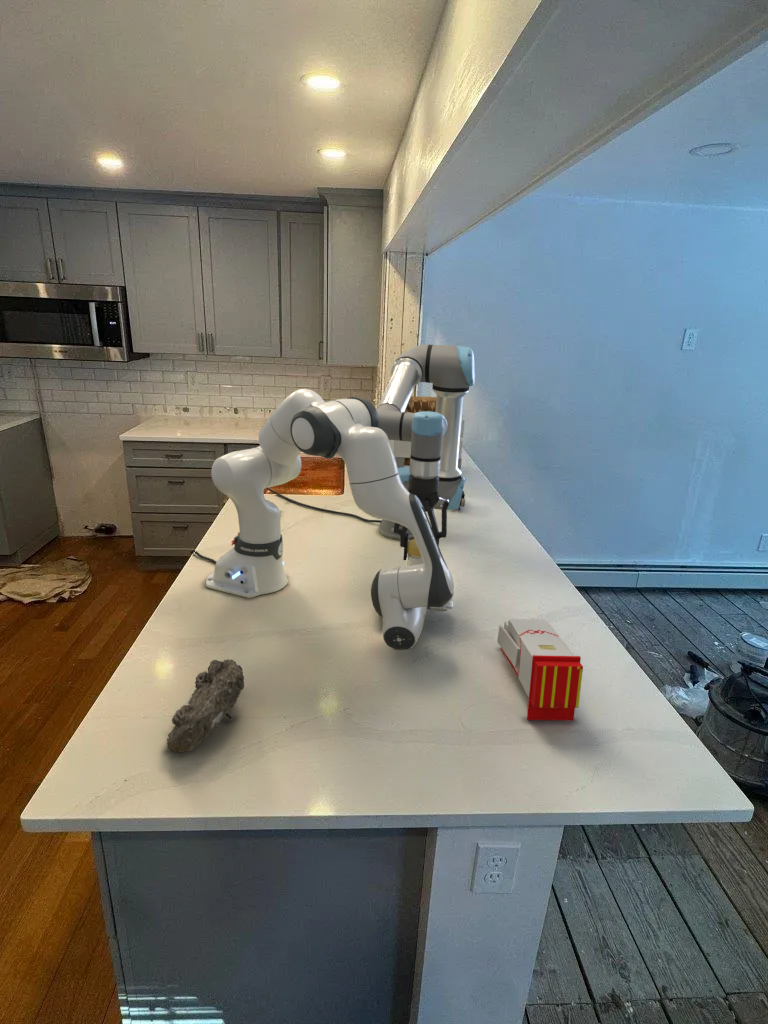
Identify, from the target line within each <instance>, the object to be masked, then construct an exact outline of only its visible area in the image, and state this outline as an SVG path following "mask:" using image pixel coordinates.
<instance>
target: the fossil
mask: <svg viewBox="0 0 768 1024" xmlns="http://www.w3.org/2000/svg"><path fill="white" fill-rule="evenodd" d="M243 670H244V669H243V667H242V665H240V664H237V662H236V661H235V660H234V659H232V658H231V659H227V658H226V659H224V660H223V661H222V660H217V659H212V660H211V661H210V663H209V665H208V666H207V671H201V672H199V673H198V674H197V675H196V676H195V680H194V684H195V685H194V687H195V689H194V690H193V693H192V694H191V697H190V698H189V700H188V704H184V705H182V706H181V707H180V709H177V710H176V711H175V713H174V715H173V716H172V718H171V723H172V724H173V727H172V730H171V731H170V732H168V734H167V738H166V741H167V742H166V745H167V749H168V750H169V751H173V752H174V753H176V754H178V753H182V752H188V751H189V752H192V751H193V750H195V748H196V747H197V746H199V744H200V743H201V742H203V741H204V740H205V739H206V738H207V737H208V736H209V735H210V734H211V733H212V732H214V730H215V729H217V727H218V726H219V724H220V722H221V721H222V720H223V719H224V718H225V716H226V717H227V719H229V720H233V717H232V715H230V714H229V710H230V709H231V708H234V706H235V704H236V703H237V702H238V699H239V697H240V695H241V693H242V691H243V690H245V689H244V688H245V675H244V671H243Z"/></svg>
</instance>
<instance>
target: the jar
mask: <svg viewBox="0 0 768 1024" xmlns="http://www.w3.org/2000/svg"><path fill="white" fill-rule="evenodd" d="M423 563H424V562H423V559H422V557H418V556H413V555H410V554H409V553H407V565H406V566H412V565H420V564H423Z"/></svg>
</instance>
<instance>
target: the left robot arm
mask: <svg viewBox="0 0 768 1024" xmlns="http://www.w3.org/2000/svg"><path fill="white" fill-rule="evenodd" d="M376 409H377V408H376V406H375V405H374V404H373V403H372V402H371V401H370V400H368V399H366V398H363V397H356V396H349V397H344V398H338V399H331V400H328V401H325V400H324V399H323V398H322V397H321V395H320V394H318V393H317V392H316V391H314V390H312V389H309V388H299V389H296V390H295V391H293V392H291V394H289V395H288V396H287V397H285V399H283V400H282V401H281V403H279V405H277V407H276V408H275V409H274V411H273V412H272V413H271V415H270V416H269V417H268V418H267V420H266V421H265V423H264V424H263V425H262V427H261V428H260V429H259V432H258V444H259V446H256V447H252V448H247V449H241V450H236V451H231V452H228V453H226V454H224V455H221V456H219V457H217V458H216V459H215V460H214V461H213V464H212V466H211V470H210V471H211V472H210V476H211V480H212V483H213V485H214V486H215V488H216V489H217V490H218V492H220V493H221V494H223V495H225V496H227V497H228V498H229V499H230V501H231V502H232V503H233V504H234V507H235V510H236V512H237V519H238V528H239V529H238V530H239V531H238V533H237V535H236V536H234V537H233V539H232V540H231V541H230V543H231V546H233V545H234V546H233V547H232V548H231V549H229V550H228V551H226V552H225V553H224V554H222V555H221V556H220V557H219V558H218V559H217V561H216V560H215V559H213V558H210V557H207V556H204V555H201V553H199V552H198V551H197V550H195V549H193V550H191V551H190V553H189V554H195V555H196V556H198V557H199V558H200V559H203V560H206V561H209V562H210V563H212V564H214V569H213V571H212V572H211V573H210V574H209V575H208V576H207V578H206V579H205V587H206V588H209V589H211V590H216V591H219V592H224V593H228V594H232V595H235V596H240V597H244V598H248V599H251V598H255V597H258V596H261V595H267V594H271V593H276V592H277V591H280V590H282V589H284V588H285V587H286V586H287V584H288V577H287V574H286V571H285V567H284V566H285V562H284V560H283V555H284V541H283V535H282V530H281V529H282V528H281V510H280V508H279V507H278V506H277V505H276V503H274V502H273V501H271V500H267V499H266V498H265V494H264V492H265V490H266V489H265V488H269V489H270V488H272V487H278V486H281V485H284V484H287V483H288V482H290V481H293V480H294V479H296V478H298V477H299V475H300V473H301V471H302V465H303V464H302V457H301V455H300V454H301V453H303V454H305V455H308V456H314V457H320V458H325V459H328V460H331V459H333V458H334V457H335V456H336V455H337V456H338V457H340V458H341V459H342V461H343V462H344V464H345V468H346V472H347V477H348V483H349V488H350V492H351V496H352V498H353V501H354V504H355V505H356V507H357V508H358V509H359V510H360V511H362V513H364V514H366V515H368V516H370V517H372V518H375V519H377V520H387V521H392V522H395V523H398V524H401V525H403V526H405V527H406V528H408V529H409V530H410V531H411V532H412V534H413V536H414V538H415V539H414V540H415V541H416V544H417V546H418V549H419V551H420V554H421V557H422V559H423V562H424V563H423V564H420V565H412V566H407V565H404V566H395V567H394V566H393V567H385V568H380V569H379V570H378V571H377V572H376V574H375V575H374V577H373V579H372V582H371V586H370V587H371V588H370V598H371V603H372V606H373V608H374V611H375V613H377V615H378V616H379V618H381V620H382V639H383V642H384V643H385V645H387V646H388V647H389V648H391V649H392V650H395V651H406V650H407V651H408V650H410V649H412V648H413V647H414V646H415V645H416V644H417V643H418V641H419V639H420V637H421V634H422V631H423V628H424V623H425V619H426V616H427V611H433V612H447V611H448V610H452V609H453V606H454V603H453V599H454V594H455V584H454V583H455V582H454V578H453V575H452V573H451V571H450V569H449V567H448V565H447V562H446V561H445V558H444V556H443V554H442V550H441V549H440V545H439V546H438V543H437V540H436V538H435V535H434V532H433V530H432V527H431V523H430V519H429V516H428V514H427V512H425V510H424V507H423V505H422V503H421V501H420V500H419V498H418V497H417V496H416V495H413V494H410V493H409V492H408V491H407V489H406V488H405V487H404V485H403V484H402V482H401V479H400V476H399V473H398V467H397V463H396V459H395V456H394V453H393V450H392V447H391V444H390V442H389V439H388V437H387V435H386V433H385V432H384V431H383V430H381V429H379V428H378V423H379V419H378V413H377V411H376ZM195 551H196V552H195ZM194 552H195V553H194Z"/></svg>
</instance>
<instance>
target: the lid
mask: <svg viewBox="0 0 768 1024" xmlns="http://www.w3.org/2000/svg"><path fill="white" fill-rule="evenodd" d="M407 552H408V553H409V554H410V555H413V556H418V557H421V554H420V551H419V549H418V546H417V544H416V541H415V539H411V540H408V544H407ZM408 553H407V554H408Z"/></svg>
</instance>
